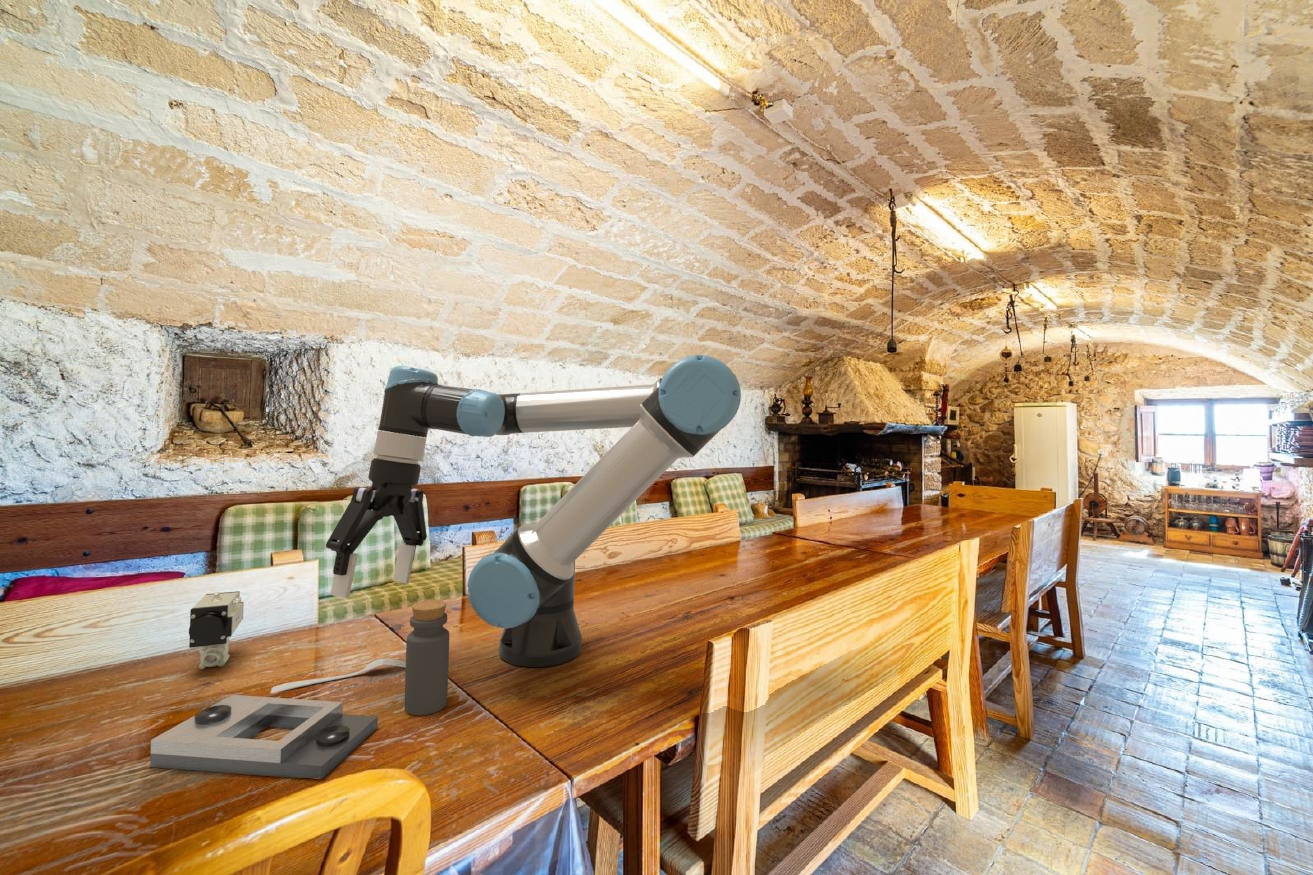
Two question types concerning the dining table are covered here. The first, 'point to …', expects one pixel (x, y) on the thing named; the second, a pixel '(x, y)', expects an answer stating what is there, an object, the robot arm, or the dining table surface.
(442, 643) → the bottle
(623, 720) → the dining table surface
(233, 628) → the pneumatic valve
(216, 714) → the grey slotted fixture base
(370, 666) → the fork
